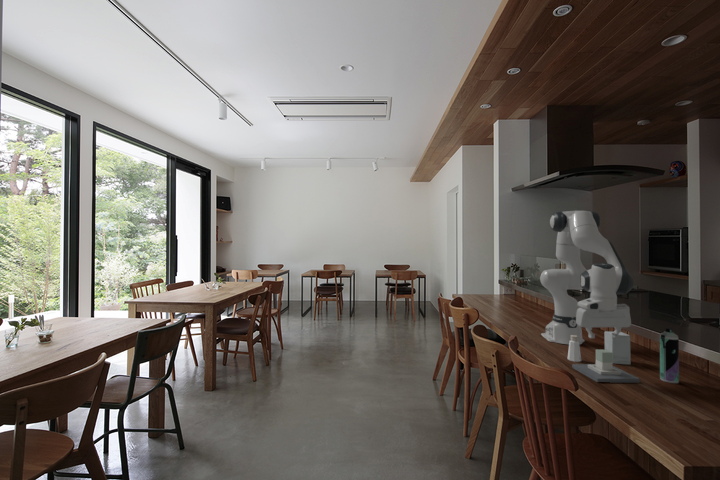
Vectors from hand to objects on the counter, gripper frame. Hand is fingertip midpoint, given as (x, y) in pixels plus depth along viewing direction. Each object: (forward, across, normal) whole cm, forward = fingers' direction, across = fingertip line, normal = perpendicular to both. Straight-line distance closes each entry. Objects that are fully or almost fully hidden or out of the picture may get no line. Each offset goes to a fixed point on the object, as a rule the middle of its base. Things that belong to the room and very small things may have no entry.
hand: (603, 337), depth 142 cm
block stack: (+13, 0, 0) cm, 13 cm away
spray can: (+15, -21, +6) cm, 27 cm away
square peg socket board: (+15, 0, 0) cm, 15 cm away
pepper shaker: (+15, +1, -18) cm, 23 cm away
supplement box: (+15, -17, -16) cm, 28 cm away
